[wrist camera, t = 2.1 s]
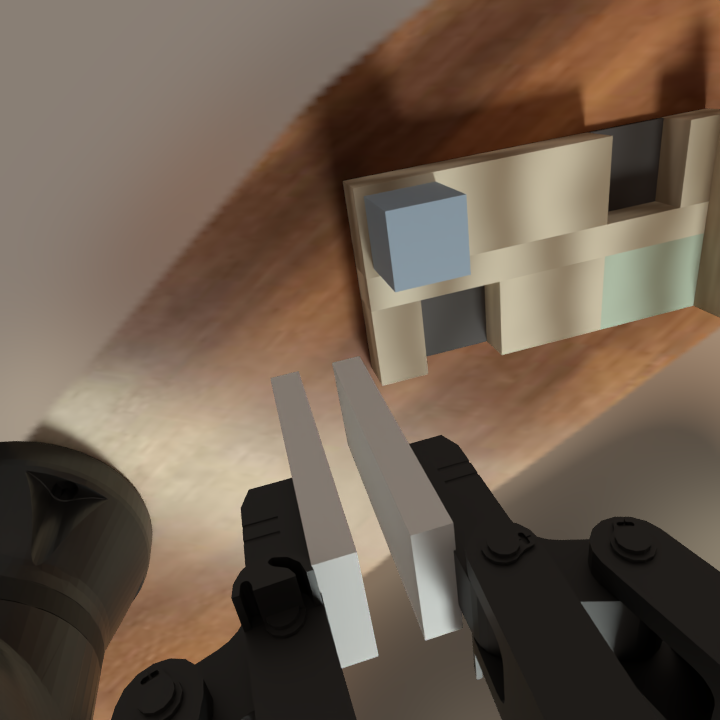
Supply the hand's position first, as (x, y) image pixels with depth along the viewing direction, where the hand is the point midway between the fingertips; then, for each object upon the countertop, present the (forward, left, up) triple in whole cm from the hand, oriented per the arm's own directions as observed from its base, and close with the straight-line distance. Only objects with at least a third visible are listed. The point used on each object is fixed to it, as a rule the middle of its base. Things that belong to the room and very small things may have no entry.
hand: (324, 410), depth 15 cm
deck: (+16, -3, -18) cm, 25 cm away
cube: (+8, 0, -16) cm, 18 cm away
